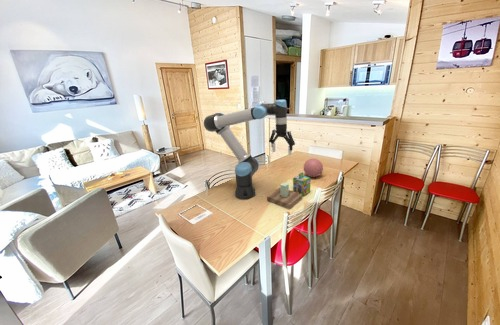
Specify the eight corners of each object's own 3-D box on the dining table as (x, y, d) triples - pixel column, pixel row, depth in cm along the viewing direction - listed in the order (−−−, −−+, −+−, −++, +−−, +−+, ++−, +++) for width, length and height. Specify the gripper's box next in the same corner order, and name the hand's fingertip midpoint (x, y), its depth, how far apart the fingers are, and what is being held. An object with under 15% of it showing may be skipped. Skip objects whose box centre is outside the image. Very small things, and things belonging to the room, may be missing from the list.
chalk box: (303, 196, 147) (303, 177, 142) (292, 192, 154) (292, 174, 149) (310, 191, 153) (311, 173, 148) (300, 188, 160) (300, 170, 154)
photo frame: (193, 224, 126) (177, 213, 138) (193, 225, 126) (178, 215, 138) (212, 212, 135) (196, 203, 147) (212, 214, 136) (197, 205, 148)
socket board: (267, 200, 146) (267, 196, 144) (280, 191, 157) (280, 187, 155) (289, 209, 134) (289, 204, 133) (302, 198, 145) (302, 194, 144)
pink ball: (328, 173, 180) (329, 156, 175) (316, 181, 167) (317, 163, 162) (312, 169, 191) (312, 153, 185) (299, 177, 178) (300, 159, 173)
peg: (280, 200, 145) (280, 184, 141) (283, 197, 148) (283, 182, 144) (285, 202, 143) (285, 186, 138) (288, 199, 145) (288, 183, 141)
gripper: (263, 123, 148) (264, 152, 155) (294, 125, 132) (294, 157, 139) (269, 121, 153) (270, 149, 160) (300, 123, 137) (300, 154, 144)
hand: (281, 153), depth 150 cm, fingers open, 13 cm apart
